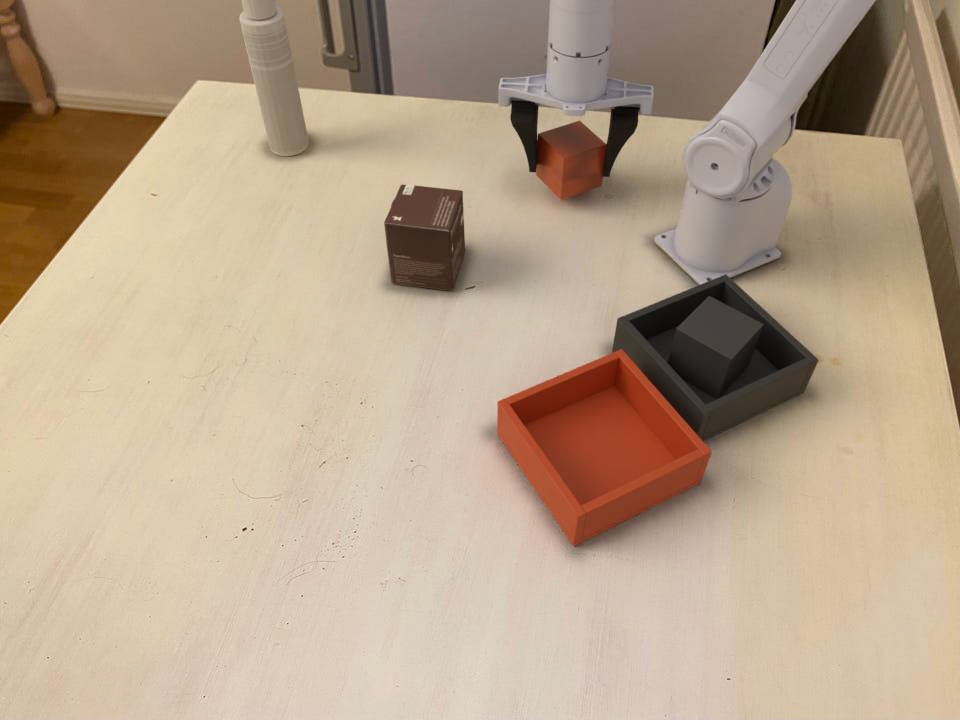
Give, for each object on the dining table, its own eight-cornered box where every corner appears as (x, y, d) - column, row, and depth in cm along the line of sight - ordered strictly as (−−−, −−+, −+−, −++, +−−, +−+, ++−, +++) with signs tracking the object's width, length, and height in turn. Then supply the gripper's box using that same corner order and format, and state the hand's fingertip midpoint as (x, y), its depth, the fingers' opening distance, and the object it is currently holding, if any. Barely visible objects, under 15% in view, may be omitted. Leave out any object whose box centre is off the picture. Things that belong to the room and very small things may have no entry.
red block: (576, 161, 87) (579, 120, 83) (602, 186, 84) (607, 144, 80) (535, 175, 85) (537, 133, 82) (560, 200, 82) (563, 158, 79)
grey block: (697, 337, 71) (709, 295, 67) (748, 365, 68) (763, 324, 65) (665, 369, 68) (676, 328, 64) (718, 400, 66) (731, 359, 62)
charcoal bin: (716, 307, 74) (726, 273, 71) (804, 392, 67) (819, 359, 64) (611, 351, 70) (617, 318, 67) (693, 446, 64) (703, 413, 61)
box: (452, 293, 75) (449, 231, 70) (389, 285, 76) (382, 223, 71) (466, 251, 79) (464, 189, 74) (406, 243, 80) (400, 181, 75)
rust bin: (615, 381, 68) (621, 348, 65) (701, 482, 61) (712, 451, 58) (496, 433, 65) (497, 401, 62) (573, 547, 58) (578, 517, 55)
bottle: (312, 135, 93) (278, -46, 78) (303, 157, 90) (266, -27, 75) (275, 133, 93) (234, -48, 78) (265, 155, 90) (220, -28, 75)
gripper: (494, 60, 71) (494, 187, 81) (662, 68, 70) (640, 197, 80) (503, 22, 76) (502, 147, 86) (660, 30, 75) (640, 155, 85)
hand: (569, 168), depth 83 cm, fingers closed on red block, 7 cm apart
